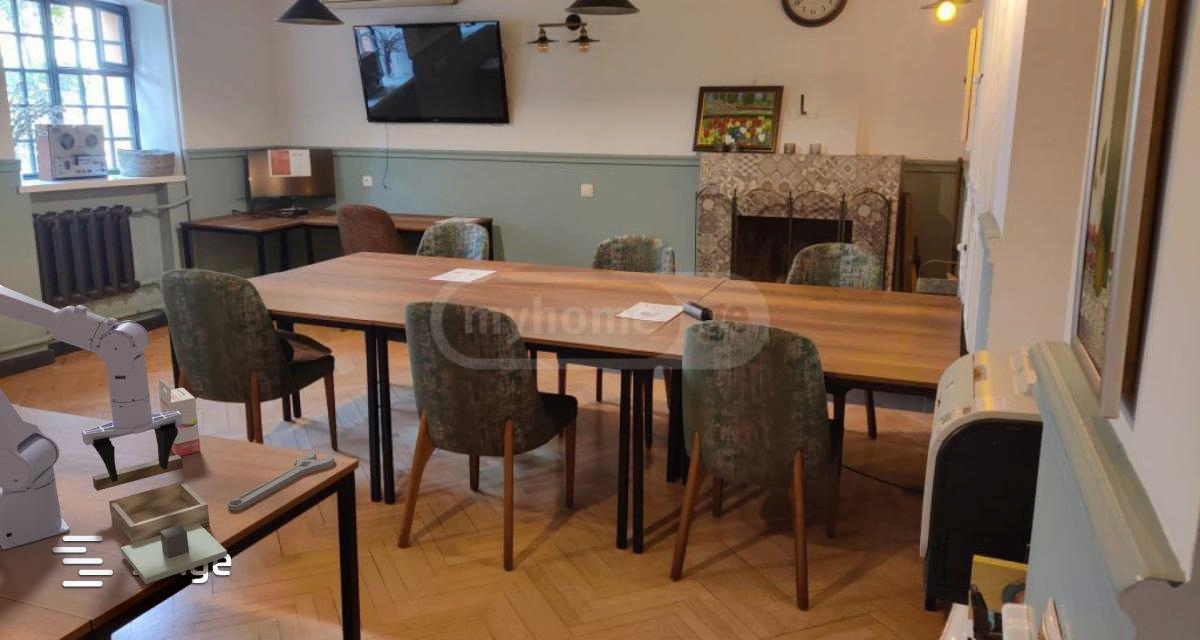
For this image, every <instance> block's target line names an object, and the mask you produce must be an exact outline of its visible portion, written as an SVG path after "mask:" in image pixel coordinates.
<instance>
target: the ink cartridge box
mask: <svg viewBox="0 0 1200 640" xmlns="http://www.w3.org/2000/svg"><path fill="white" fill-rule="evenodd" d="M158 388H159V391H158V395H159V396H158V398H159V404H160V405H159V407H160V413H166V412H173V411H179V412H180V413H181V415H182V424H181V425H175V426H176V428H177V429H178V435H177V437H176V438H175V441H174V443H173V445H172V448H171V451H170V452H172V453H173V455H174V456H175V455H179V456H180V457H181V456H186V455H190V454H195V453H200V452H201V442H200V434H199V425H198V415H197V413H198V412H197V406H196V405H197V403H196V397H195V396H193V395H192V394H191V393H190V392H189V391H188V390H187V389H185V388H184V387H178V388H174V389H172V388H171V386H169V385H168V383H166V382H165V381H164V380H162V379H161V378H158Z"/></svg>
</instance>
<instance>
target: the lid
mask: <svg viewBox="0 0 1200 640" xmlns="http://www.w3.org/2000/svg"><path fill="white" fill-rule="evenodd" d="M227 552H228V551H227V549H226V548H224V547H223V545H222V544H220V542H219V541H218V540H217V539H215V538H214V537H213V535H211V534H210V533H209V532H208V531H207V529H205V527H204V528H203V527H202V526H201V525H200V524H199V523H198V524H195V525H192V526H188V527H185V528H183V527H182V526H181V525H178V526H175V527H172V528H169V529H165V530H162V531H160V535H159V536H156V537H153V538H150V539H147V540H143V541H140V542H137V543H134V544H127V545H124V546H121V547H120V553H121V554H122V556H123V557H124V558H125V559H126V561H127V562H128V564H129V565H130V566H131V567H132V569H133V570H134V571H135V572H136V573H137V575H138V576H139V578H140V579H141V580H142V581H143V582H144V584H145V585H148V584H151V583H153V582H156V581H159V580H162V579H166V578H168V577H171V576H173V575H177V574H180V573H183V572H186V571H188V570H191V569H194V568H197V567H200V566H203V565H206V564H209V563H212V562H214V561H215V562H216V561H218V560H220V559H224V558H227V557H228V553H227Z"/></svg>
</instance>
